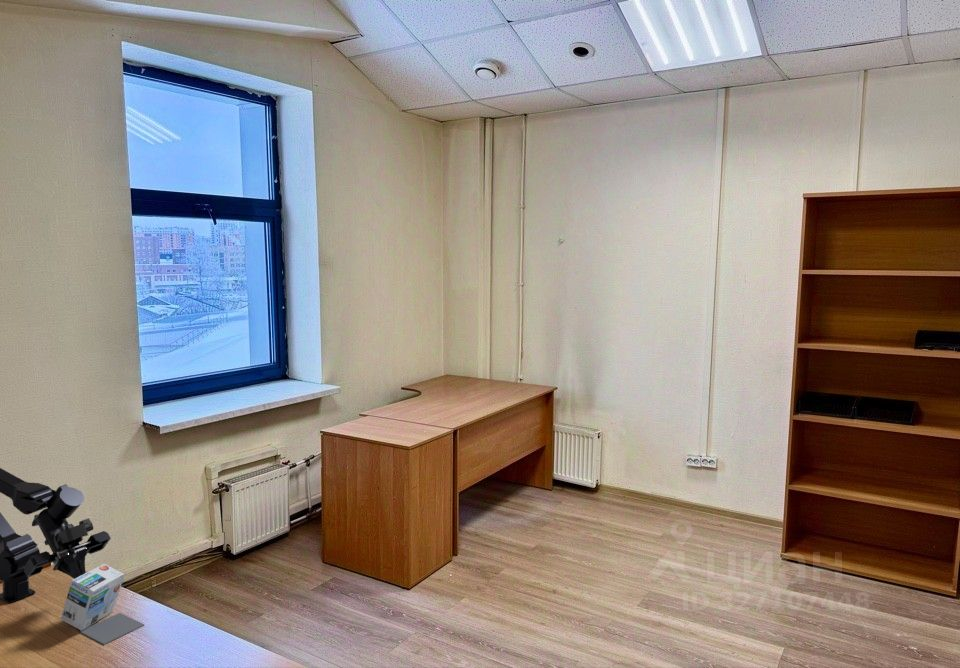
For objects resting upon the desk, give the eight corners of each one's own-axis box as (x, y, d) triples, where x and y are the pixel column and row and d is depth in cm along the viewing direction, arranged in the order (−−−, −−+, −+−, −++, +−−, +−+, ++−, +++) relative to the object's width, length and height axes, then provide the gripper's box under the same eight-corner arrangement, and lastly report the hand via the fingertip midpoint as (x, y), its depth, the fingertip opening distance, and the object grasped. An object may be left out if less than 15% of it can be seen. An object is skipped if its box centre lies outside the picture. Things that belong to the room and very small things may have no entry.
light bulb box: (81, 631, 160) (93, 591, 158) (58, 619, 161) (70, 580, 159) (114, 611, 170) (126, 573, 169) (92, 599, 171) (104, 562, 170)
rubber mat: (79, 632, 160) (79, 631, 160) (119, 613, 169) (119, 612, 169) (104, 645, 155) (104, 643, 155) (144, 625, 164) (144, 624, 164)
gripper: (27, 524, 158) (55, 580, 154) (104, 500, 174) (132, 550, 170) (11, 549, 163) (39, 604, 158) (88, 523, 179) (115, 573, 174)
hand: (83, 581), depth 165 cm, fingers closed
